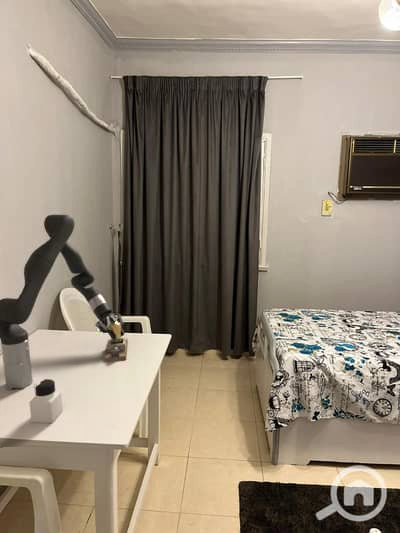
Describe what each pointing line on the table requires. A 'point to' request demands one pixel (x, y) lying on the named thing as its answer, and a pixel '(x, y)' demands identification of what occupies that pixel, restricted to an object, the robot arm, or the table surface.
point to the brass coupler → (116, 332)
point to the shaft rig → (116, 350)
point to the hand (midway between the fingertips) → (119, 336)
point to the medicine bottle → (45, 402)
